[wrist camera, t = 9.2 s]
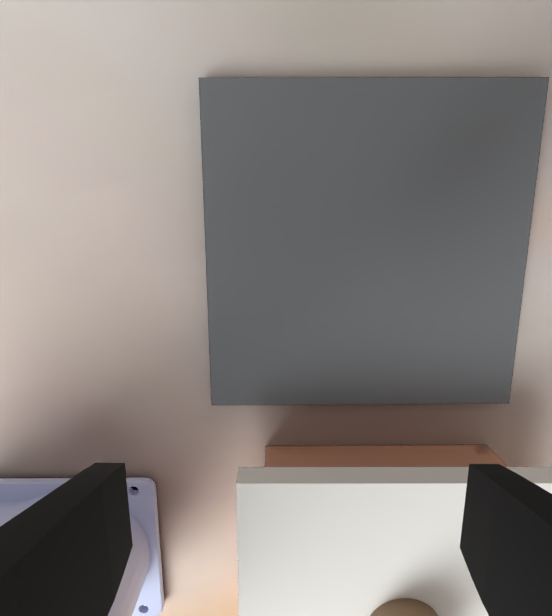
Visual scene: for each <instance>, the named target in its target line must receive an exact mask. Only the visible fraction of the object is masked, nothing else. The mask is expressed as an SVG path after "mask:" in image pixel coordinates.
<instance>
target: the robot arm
mask: <svg viewBox="0 0 552 616" xmlns="http://www.w3.org/2000/svg"><path fill="white" fill-rule="evenodd" d="M132 486H134V487H137V488H138V490H137V491H136V490H133V489H132V488H131V487H132ZM460 550H461V552H462V555H463V557H464V560H465V562H466V565H467V568H468V570H469V573H470V575H471V578H472V580H473V582H474V585H475V587H476V589H477V592H478V594H479V596H480V599H481V601H482V603H483V605H484V607H485V609H486V611H487V613H488V615H489V616H552V494H551V493H549V492H548V491H546V490H544V489H543V488H541V487H539V486H538V485H536V484H534V483H533V482H531V481H529V480H527V479H526V478H524V477H522V476H521V475H519V474H517V473H515V472H513V471H512V470H510V469H508V468H506V467H504V466H502V465H500V464H469V470H468V479H467V487H466V496H465V505H464V514H463V522H462V531H461V540H460ZM144 605H146V606H144ZM163 607H164V591H163V577H162V564H161V550H160V536H159V522H158V508H157V494H156V485H155V482H154V481H153V480H152V479H150V478H145V477H140V478H126V471H125V463H95V464H93V465H91V466H90V467H88V468H86V469H85V470H83V471H82V472H80V473H79V474H77V475H76V476H74V477H73V478H4V479H0V616H157V615H159V614H160V613H161V612H162V610H163Z"/></svg>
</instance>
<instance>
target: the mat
mask: <svg viewBox="0 0 552 616" xmlns="http://www.w3.org/2000/svg"><path fill="white" fill-rule="evenodd" d="M548 81H549V77H375V78H199V95H200V121H201V146H202V172H203V198H204V223H205V249H206V275H207V300H208V326H209V352H210V377H211V403H212V405H329V404H486V403H509V400H510V392H511V383H512V375H513V367H514V359H515V351H516V343H517V334H518V326H519V318H520V310H521V302H522V294H523V285H524V277H525V269H526V261H527V253H528V245H529V236H530V228H531V220H532V212H533V204H534V196H535V187H536V179H537V171H538V163H539V155H540V147H541V138H542V130H543V122H544V114H545V106H546V98H547V89H548Z"/></svg>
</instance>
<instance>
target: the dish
mask: <svg viewBox="0 0 552 616" xmlns="http://www.w3.org/2000/svg"><path fill="white" fill-rule="evenodd" d="M469 464H500V465H502V466H504V467H508V466H507V465H506V464H505V463H504V462H503V461H502V460H501V459H500V458H499V457H498V456H497V455H496V454H495V453H494V452H493V451H492V450H491V449H490V448H489V447H488V446H487V445H399V446H266V450H265V467H469Z"/></svg>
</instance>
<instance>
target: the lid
mask: <svg viewBox="0 0 552 616" xmlns="http://www.w3.org/2000/svg"><path fill="white" fill-rule="evenodd" d="M506 468H508V469H510V470H512V471H513V472H515V473H517V474H519V475H521V476H522V477H524V478H526V479H527V480H529V481H531V482H533V483H534V484H536V485H538V486H539V487H541V488H543V489H544V490H546V491H548V492H549V493H551V494H552V467H506ZM468 470H469V467H239V468H238V475H237V482H236V497H237V552H238V608H239V616H489V615H488V613H487V611H486V609H485V607H484V605H483V603H482V601H481V599H480V596H479V594H478V592H477V589H476V587H475V585H474V582H473V580H472V578H471V575H470V573H469V570H468V568H467V565H466V562H465V560H464V557H463V555H462V552H461V550H460V540H461V531H462V522H463V514H464V505H465V496H466V487H467V479H468Z"/></svg>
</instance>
